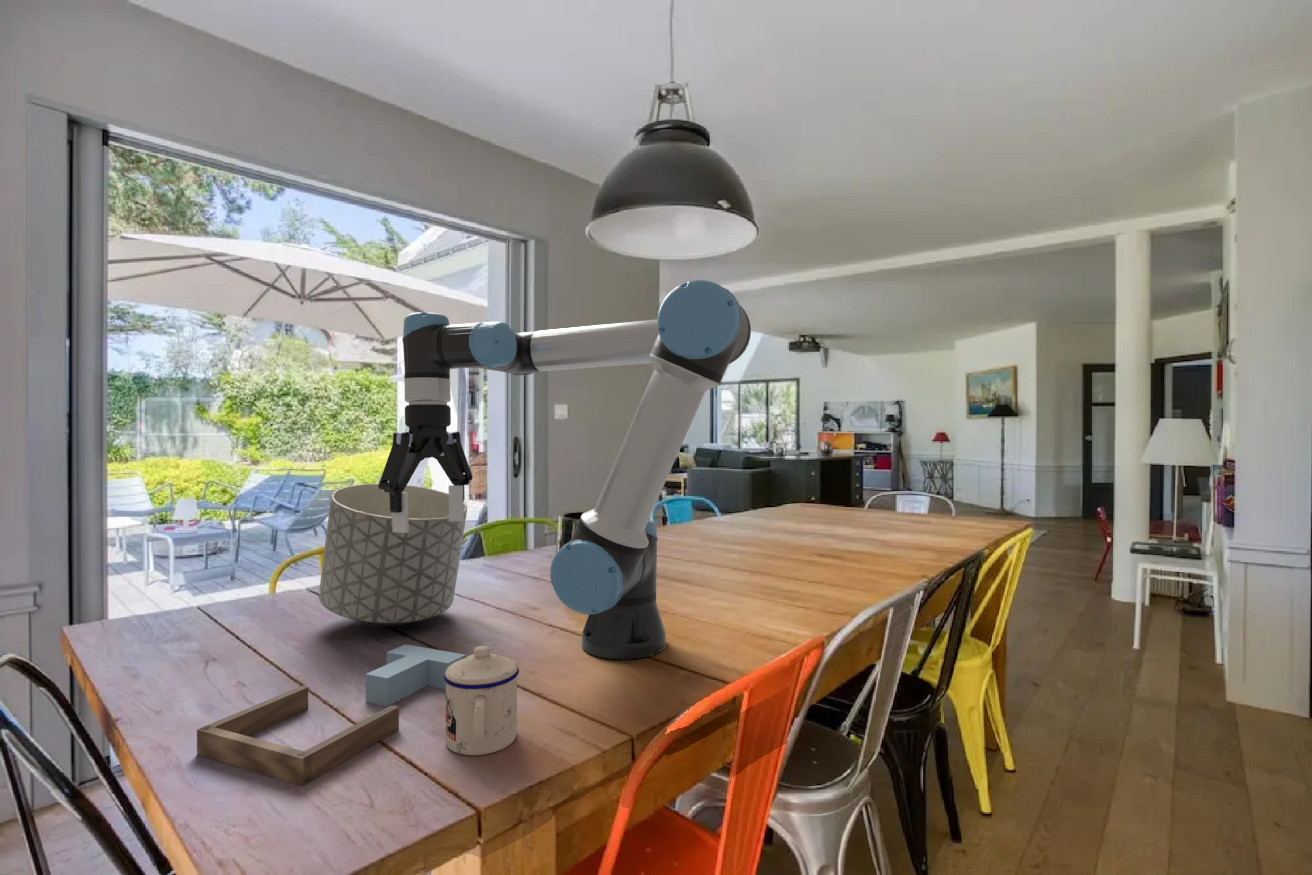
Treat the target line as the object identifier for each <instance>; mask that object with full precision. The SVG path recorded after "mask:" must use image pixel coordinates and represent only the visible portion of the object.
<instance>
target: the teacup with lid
mask: <svg viewBox="0 0 1312 875" xmlns="http://www.w3.org/2000/svg"><path fill="white" fill-rule="evenodd" d="M519 669H520V668H519V665H518V664H517V662H516V661H515V660H514V659H513V658H510V657H507V656H503V655H498V654H496V653H494V652H491V648H490V647H489V646H487V645H478V646H476V647H475V648H474V649H473V653H472V654H470V655H468V656H466V658H464V659H461V660H459V661H456V662H454V663H453V664H451V665H450V666H449V667H448V668H447V670H446V672H445V675H444V680H445V682H446V689H445V744H446V747H447V748H448V749H449V750H450V751H451V752H454V753H456V754H459V755H462V756H464V755H465V756H483V755H489V754H492V753H493V754H494V753H496V752H499V751H501V750H503V749H505V748H507V747H508V746H510V745H512V743H514V741H515V739H516V737H517V731H518V730H517V727H518V726H517V725H518V720H517V719H518V714H517V713H518V710H517V709H518V703H517V702H518V699H517V698H518V690H517V689H518V675H519V673H520V670H519Z"/></svg>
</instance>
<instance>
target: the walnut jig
mask: <svg viewBox="0 0 1312 875" xmlns="http://www.w3.org/2000/svg"><path fill="white" fill-rule="evenodd" d="M303 710H304V711H306V710H309V686H306V685H300V686H298V687H296V688H293V689H291V690H288V691H286V692H284V693H282V694H279V695H276V696H274V697H272V698H269V699H267V700H263V702H260V703H258V704H255V705H252V706H249V707H248V708H245V709H243V710H241V711H238V712H236V713H233V714H231V715H228V716H227V717H223V718H221V719H219V720H217V721H214V722H211V723H210V724H207V725H204V726H202V727H200V728H197V729H196V755H197V756H201V757H204V758H208V759H211V760H214V761H218V762H221V763H224V764H228V765H231V766H233V767H238V768H241V769H244V770H247V771H251V772H254V773H258V774H261V775H265V776H268V777H271V778H274V779H278V780H281V781H284V782H288V783H291V784H294V785H299V786H300V787H301V786H302V787H303V786H305V785H307V784H308V783H310V782H311V781H313V780H315V779H317V778H319V777H321V775H324V774H325V773H327V772H328V771H330V770H333V769H334V768H335V767H337V766H339V765H341V764H342V763H344V762H346V761H347V760H349V759H352V758H353V757H355V756H356V755H358V754H359V753H361V752H362V751H365V750H367V749H368V748H370V747H372V746H373V745H375V744H377V743H378V742H380V741H382V740H384V739H386V738H387V737H389V736H390V735H393V734H394V733H396V732H397V731H400V706H397V705H393V704H391V705H389V706H386V708H383V709H382V710H380V711H378V712H377V713H374V714H372V715H370V716H368V717H367V718H365V719H363V720H361V721H359V722H357V723H355V724H353V725H352V726H350V727H348V728H346V729H344V730H342V731H340V732H338V733H336V734H334V735H332V736H331V737H329V738H327V739H324V740H323V741H321V742H319V743H317V744H315V745H314V746H312V747H310V748H307V749H306V750H300V749H297V748H293V747H290V746H285V745H281V744H278V743H275V742H271V741H266V740H263V739H259V738H255V737H253V736H252V735H254V734H256V733H258V732H260V731H263V730H264V729H267V728H269V727H271V726H274V725H275V724H274V723H276V724H278V723H280V722H282V721H284V720H286V719H288V718H290V717H293V716H295V715H297V714H299V713H301V711H302V712H303ZM294 714H295V715H294Z"/></svg>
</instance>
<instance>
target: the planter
mask: <svg viewBox="0 0 1312 875" xmlns="http://www.w3.org/2000/svg"><path fill="white" fill-rule="evenodd" d="M378 485H379V483H377V482H375V483H360V484H352V485H348V486H344V487H341V488H338V489H336V490H334V491H333V492H332V494H331V495H330V502H329V503H330V505H329V509H328V512H329V513H328V518H327V527H326V535H325V542H324V551H323V560H322V565H321V566H322V567H321V573H320V582H319V588H318V590H319V591H318V600H319V602H320V603H321V605H322V606H323V607H324V608H325V609H326V610H328V611H330V612H331V613H333V614H335V615H337V616H340V617H342V618H346V619H348V620H353V621H356V622H358V623H361V624H366V625H370V626H376V627H398V626H402V625H408V624H412V623H414V622H420V621H425V620H427V619H428V620H429V619H431V618H434V617H437V616H439V615H441V614H443V613H445V612H446V611H447V610H448V609H450V607H452V605H453V602H454V599H455V591H456V585H457V578H458V571H459V566H460V559H461V554H462V553H461V552H462V545H463V540H464V532H465V526H466V519H467V512H468V505H467V503H466V501H464V502H463V509H464V521H461V522H459V521H449V492H445V491H441V490H437V489H433V488H429V487H423V486H417V485H412V484H411V485H409V484H407V486H406V487H405V489H404V491H403V492H408V521H409V532H407V533H400V532H393V526H392V512H391V511H390V495H389V492H384V490H383V489H379V487H378Z"/></svg>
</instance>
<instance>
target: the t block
mask: <svg viewBox="0 0 1312 875" xmlns="http://www.w3.org/2000/svg"><path fill="white" fill-rule="evenodd" d="M466 657H467V654H466V653H465V654H464V653H459V652H454V651H453V652H451V651H446V650H441V649H435V648H428V647H423V646H417V645H411V644H406V643H405V644H403V645H401V646H398V647H396V648H393V649H391V650H389V651H386V664H385V665H383V666H380V667H378V668H376V669H374V670H371V671H370V672H369V671H368V672H367V673H365V703H369V704H375V705H379V706H383V707H384V706H385V707H389V706H391V705H393V704H394V703H396V701H397V702H399V701H400V699H401V698H403V697H404V698H406V697H408V696H410V695H411V694H410V693H412V694H414V693H415V691H416V692H418V691H419V690H418V689H420V690H421V688H422V689H423V687H424V688H426V687H427V686H426V685H429V686H428V687H432V686H434V687H433V688H437V689H443V690H446V682H445V680H444V675H445V672H446V670H447V668H448V667H449V666H450V665H451V664H453V663H454V662H456V661H459V660H461V659H464V658H466ZM417 690H418V691H417ZM409 694H410V695H409ZM407 695H408V696H407ZM404 698H403V699H404ZM401 700H402V699H401Z"/></svg>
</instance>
